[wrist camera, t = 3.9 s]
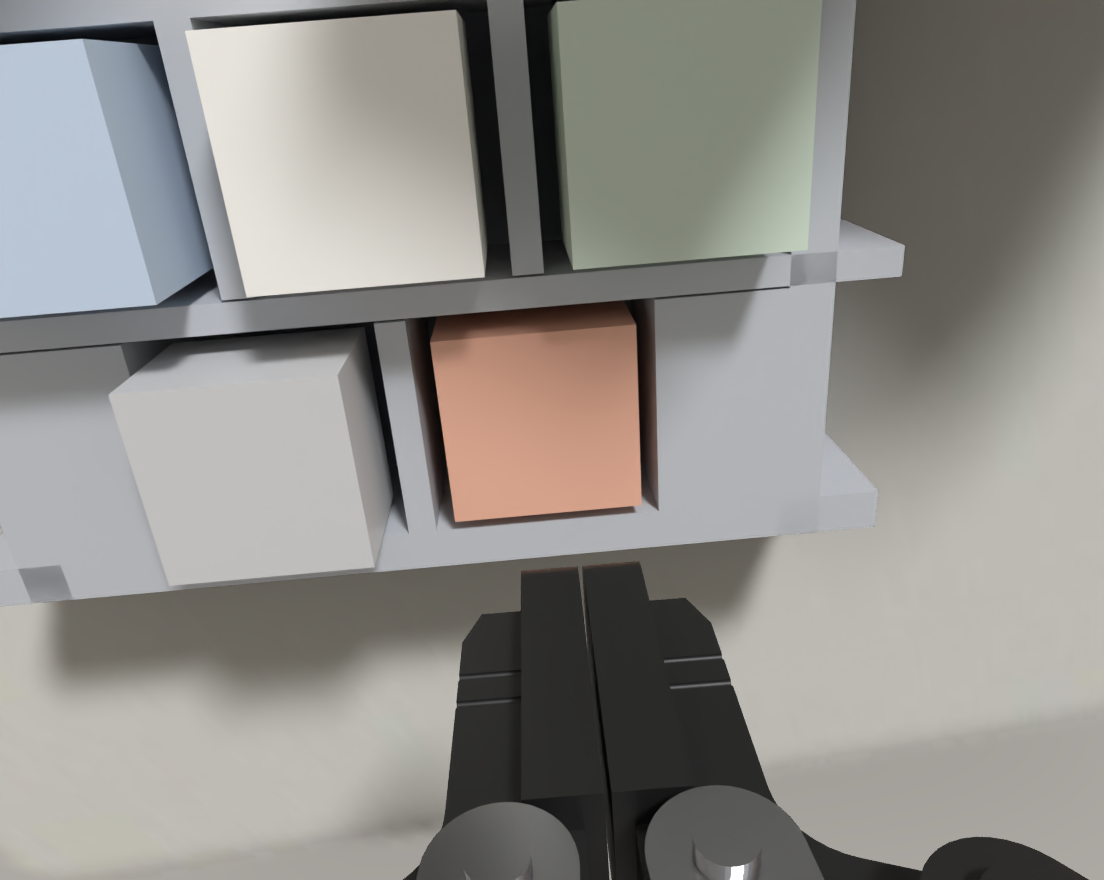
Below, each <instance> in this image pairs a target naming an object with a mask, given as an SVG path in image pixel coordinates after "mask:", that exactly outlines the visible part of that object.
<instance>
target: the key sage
mask: <svg viewBox="0 0 1104 880" xmlns="http://www.w3.org/2000/svg"><path fill="white" fill-rule="evenodd" d="M821 12H822V0H575V1H562V2H556V4H555V5H554V7H553V8H552V9H551V11H550V12H549V14H548V15H547V22H548V37H549V52H550V68H551V83H552V98H553V113H554V128H555V143H556V158H557V173H558V188H559V203H560V218H561V233H562V240H563V242H564V245H565V248H566V251H567V254H568V256H569V259H570V262H571V265H572V268H573V270H577V269H589V268H601V267H613V266H625V265H637V264H648V263H660V262H672V261H684V260H696V259H708V258H720V257H732V256H744V255H755V254H767V253H779V252H791V251H803V250H808V236H809V219H810V202H811V184H812V167H813V150H814V133H815V115H816V98H817V81H818V64H819V46H820V29H821Z"/></svg>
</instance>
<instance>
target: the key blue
mask: <svg viewBox="0 0 1104 880" xmlns="http://www.w3.org/2000/svg"><path fill="white" fill-rule="evenodd" d="M212 268H214V267H213V263H212V259H211V255H210V251H209V246H208V242H207V238H206V234H205V230H204V226H203V222H202V218H201V214H200V210H199V206H198V202H197V198H196V194H195V189H194V185H193V181H192V177H191V173H190V169H189V165H188V161H187V157H186V153H185V149H184V145H183V141H182V137H181V132H180V128H179V124H178V120H177V116H176V112H175V108H174V104H173V100H172V96H171V92H170V88H169V84H168V80H167V75H166V71H165V67H164V63H163V59H162V55H161V51H160V47H159V46H157V45H146V44H135V43H124V42H113V41H101V40H90V39H73V40H60V41H47V42H34V43H21V44H8V45H0V318H7V317H19V316H31V315H43V314H54V313H66V312H78V311H90V310H102V309H114V308H126V307H138V306H150V305H157V304H159V303H160V302H162V301H163V300H165V299H166V298H168V297H169V296H171V295H172V294H174V293H176V292H177V291H179V290H180V289H182V288H183V287H185V286H186V285H188V284H189V283H191V282H192V281H194V280H195V279H197V278H198V277H200V276H201V275H203V274H204V273H206V272H207V271H209V270H211V269H212Z"/></svg>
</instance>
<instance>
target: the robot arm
mask: <svg viewBox="0 0 1104 880" xmlns="http://www.w3.org/2000/svg"><path fill="white" fill-rule="evenodd" d="M582 571H583V589H584V604H585V619H586V633H585V625H584V616H583V608H582V599H581V590H580V582H579V573H578V567H566V568H554V569H541V570H529V571H521V611H519V612H506V613H494V614H482V615H481V617H480V618H479V620H478V621H477V622H476V624H475V625H474V627H473V628H472V630H471V631H470V633H469V634H468V635H467V637H466V638H465V640H464V641H463V643H462V652H461V662H460V672H459V677H460V681H459V682H458V692H457V708H456V711H455V721H454V731H453V741H452V751H451V760H450V770H449V780H448V790H447V800H446V810H445V817H444V822H443V826H442V829H441V830H440V831H439V832H438V833H437V834H436V836H435V837H434V838H433V840H432V841H431V842H430V844H429V845H428V847H427V849H426V851H425V853H424V855H423V857H422V860H421V863H420V865H419V866H418V867H417V868H416V869H415V870H414V871H413V872H412V873H411V874H409V875H408V876H407V877H406V878H405V879H403V880H609V868H608V852H609V861H610V870H611V878H612V880H1088V879H1087V878H1085V877H1083V876H1082V875H1080V874H1078V873H1077V872H1075V871H1073V870H1072V869H1070V868H1068V867H1067V866H1065V865H1063V864H1061V863H1060V862H1058V861H1056V860H1055V859H1053V858H1051V857H1049V856H1047V855H1045V854H1043V853H1041V852H1039V851H1037V850H1035V849H1032V848H1030V847H1027V846H1024V845H1022V844H1019V843H1015V842H1011V841H1008V840H1004V839H997V838H991V837H971V838H963V839H959V840H956V841H953V842H949V843H947V844H946V845H944V846H942V847H940V848H938V850H937V851H935V852H934V853H933V854H932V855H931V856H930V857H929V859H928V860H927V862H926V863H925V865H924V867H923V870H922V871H919V870H915V869H910V868H905V867H901V866H896V865H891V864H886V863H882V862H877V861H872V860H868V859H863V858H859V857H855V856H851V855H848V854H844V853H841V852H839V851H837V850H834V849H832V848H829V847H827V846H825V845H824V844H822V843H820V842H818V841H816V840H814V839H813V838H811V837H810V836H808V835H807V834H806V833H804V832H803V831H801V830H800V828H799V827H798V826H797V824H796V823H795V822H794V821H793V819H792V818H791V817H790V816H789V815H788V814H787V813H786V812H785V811H784V810H782V809H781V808H780V807H779V806H778V805H777V804H776V802H775V801H774V799H773V797H772V795H771V793H770V791H769V788H768V786H767V783H766V780H765V777H764V774H763V771H762V768H761V766H760V763H759V760H758V757H757V754H756V751H755V748H754V745H753V742H752V740H751V737H750V734H749V731H748V728H747V725H746V722H745V719H744V717H743V714H742V711H741V708H740V705H739V702H738V699H737V696H736V694H735V691H734V688H733V686H731V680H730V676H729V673H728V670H727V668H726V665H725V662H724V659H722V653H721V650H720V647H719V645H718V642H717V639H716V636H715V633H714V630H713V627H712V624H711V622H710V621H709V620H708V619H707V618H706V617H704V616H703V615H702V614H701V613H700V612H699V611H698V610H697V609H696V608H695V607H694V606H693V605H692V604H691V603H690V602H689V601H688V600H687V599H686V598H679V599H666V600H654V601H649V598H648V594H647V590H646V586H645V582H644V577H643V573H642V569H641V566H640V563H639V562H626V563H614V564H601V565H589V566H582ZM586 635H587V642H586ZM587 650H588V651H587ZM607 843H608V850H607ZM607 851H608V852H607Z"/></svg>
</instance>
